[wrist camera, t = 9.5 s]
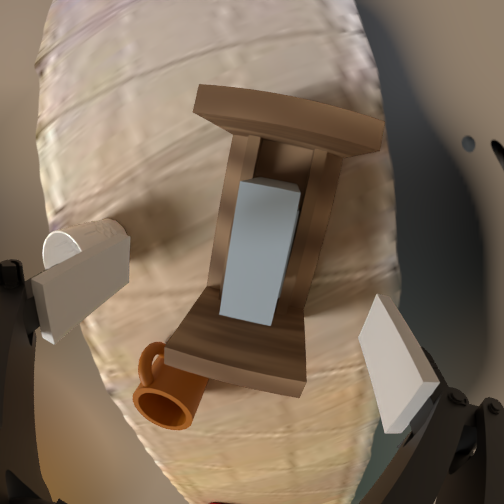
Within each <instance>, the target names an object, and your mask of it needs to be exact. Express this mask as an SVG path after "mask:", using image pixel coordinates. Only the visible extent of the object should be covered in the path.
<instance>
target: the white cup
mask: <svg viewBox="0 0 504 504" xmlns="http://www.w3.org/2000/svg"><path fill="white" fill-rule="evenodd" d="M117 234H123V235H127V234H126V232H125V230H124V228H123V227H122V226H121V225H120V224H119V223H118V222H117V221H115V220H112V219H108V218H106V219H103V220H99V221H91V222H86V223H83V224H78V225H74V226H71V227H67V228H63V229H60V230H56V231H53V232H51V233H50V234H49V235H48V236H47V238H46V240H45V242H44V246H43V262H44V266H45V270H46V269H49V268H50V267H52V266H54V265H56V264H58V263H61V262H63V261H65V260H66V259H68V258H70V257H72V256H74V255H76V254H78V253H80V252H82V251H84V250H86V249H88V248H90V247H92V246H94V245H96V244H98V243H100V242H102V241H104V240H106V239H109V238H111V237H113V236H115V235H117Z"/></svg>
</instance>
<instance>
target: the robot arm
mask: <svg viewBox="0 0 504 504" xmlns="http://www.w3.org/2000/svg"><path fill="white" fill-rule="evenodd" d="M130 237H131V236H127V235H123V234H117V235H115V236H113V237H111V238H109V239H106V240H104V241H102V242H100V243H98V244H96V245H94V246H92V247H90V248H88V249H86V250H84V251H82V252H80V253H78V254H76V255H74V256H72V257H70V258H68V259H66V260H65V261H63V262H61V263H58V264H56V265H54V266H52V267H50V268H49V269H46V270H45V271H43V272H41V273H39V274H37V275H36V276H34V277H32V278H30V279H29V280H27V281H24V274H23V267H22V263H21V261H19V260H13V259H10V260H5V261H2V262H0V504H67V503H65V502H64V501H62V500H60V499H58V501H57V503H55V502H52V499H51V496H50V493H49V490H48V488H47V486H46V484H45V482H44V480H43V478H42V475H41V471H40V466H39V458H38V451H37V443H36V433H35V419H34V361H35V347H36V333H35V330H36V329H37V328H38V327H39V326H40V329H41V333H42V337H43V338H44V339H46V340H47V341H49V342H51V343H52V344H54V345H55V344H56V343H57V342H58V341H60V340H61V339H62V338H63V337H64V336H65V335H66V334H67V333H69V332H70V331H71V330H72V329H73V328H74V327H76V326H77V325H78V324H79V323H80V322H81V321H83V320H84V319H85V318H86V317H87V316H89V315H90V314H91V313H92V312H93V311H94V310H96V309H97V308H98V307H99V306H100V305H102V304H103V303H104V302H105V301H107V300H108V299H109V298H110V297H111V296H113V295H114V294H115V293H116V292H118V291H119V290H120V289H121V288H123V287H124V286H125V285H126V284H128V283H129V260H130ZM358 339H359V342H360V345H361V348H362V351H363V355H364V358H365V361H366V365H367V368H368V371H369V375H370V378H371V382H372V385H373V389H374V393H375V396H376V400H377V404H378V408H379V411H380V415H381V419H382V423H383V428H384V432H385V433H402V432H403V430H404V429H405V428H406V426H408V424H409V423H410V426H411V429H412V431H411V432H410V433H409V434H408V435H407V437H406V438H405V439H404V440H403V441H402V442H401V443H400V444H399V445H398V446H397V448H399V450H398V451H397V453H396V455H395V456H394V457H393V459H392V460H391V462H390V463H389V465H388V466H387V468H386V469H385V471H384V472H383V473H382V475H381V476H380V477H379V479H378V480H377V481H376V483H375V484H374V485H373V487H372V488H371V489H370V490H369V492H368V493H367V494H366V495H365V497H364V498H363V499H362V500H361V501H360V503H359V504H433V503H434V501H435V499H436V497H437V499H436V503H435V504H504V408H503V406H502V405H501V403H500V402H498V400H496V399H494V398H490V397H488V398H485V399H484V401H483V402H482V403H481V404H480V406H475V405H471V404H469V401H468V399H467V397H466V396H465V394H464V393H462V392H461V391H460V390H458V389H456V388H451V387H448V385H447V383H446V381H445V380H444V377H443V376H442V374H441V372H440V370H439V369H438V367H437V365H436V363H434V360H433V358H432V356H431V355H430V354H429V353H428V352H427V351H426V350H425V349H424V348H423V347H420V345H419V344H418V342H417V340H416V338H415V337H414V335H413V334H412V332H411V330H410V329H409V327H408V325H407V324H406V322H405V320H404V319H403V317H402V315H401V314H400V312H399V311H398V309H397V307H396V306H395V304H394V303H393V301H392V300H391V298H390V297H389V296H386V295H381V294H376V296H375V299H374V301H373V304H372V306H371V309H370V311H369V314H368V316H367V319H366V321H365V323H364V326H363V328H362V330H361V332H360V335H359V337H358ZM475 449H476V451H475V453H474V454H473V450H475Z"/></svg>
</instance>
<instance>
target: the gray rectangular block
mask: <svg viewBox="0 0 504 504" xmlns="http://www.w3.org/2000/svg"><path fill="white" fill-rule="evenodd" d="M300 194H301V192H300V190H299V188H298V185H297V184H295V183H290V182H285V181H280V180H275V179H269V178H264V177H257V178H252V179H248V180H243V181H240V185H239V191H238V197H237V203H236V209H235V215H234V221H233V227H232V233H231V240H230V246H229V253H228V259H227V266H226V272H225V279H224V285H223V292H222V299H221V306H220V313H219V315H223V316H228V317H232V318H236V319H241V320H245V321H250V322H254V323H259V324H263V325H268V326H271V323H272V319H273V315H274V311H275V307H276V303H277V299H278V298H280V294H281V290H282V286H283V282H284V277H285V273H286V269H287V264H288V260H289V256H290V251H291V247H292V242H293V238H294V233H295V228H296V224H297V219H298V214H299V209H298V204H299V199H300Z"/></svg>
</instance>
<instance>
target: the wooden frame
mask: <svg viewBox="0 0 504 504" xmlns="http://www.w3.org/2000/svg"><path fill="white" fill-rule="evenodd" d="M193 113H195V114H197V115H199V116H201V117H203V118H204V119H206V120H208V121H210V122H212V123H214V124H215V125H217V126H219V127H221V128H222V129H224V130H226V131H228V132H230V133H231V134H233V138H232V143H231V148H230V153H229V158H228V163H227V169H226V174H225V179H224V185H223V190H222V196H221V201H220V207H219V213H218V219H217V225H216V231H215V237H214V243H213V249H212V255H211V262H210V268H209V275H208V282H207V287H206V288H205V290H204V291H203V292H202V294H201V295H200V297H199V298H198V300H197V301H196V302H195V304H194V305H193V307H192V308H191V309H190V311H189V312H188V314H187V315H186V317H185V318H184V319H183V321H182V322H181V324H180V325H179V327H178V328H177V330H176V331H175V332H174V334H173V335H172V337H171V338H170V340H169V341H168V342H167V344H166V345H165V347H164V364H166V365H169V366H172V367H175V368H178V369H181V370H184V371H187V372H190V373H194V374H197V375H200V376H204V377H207V378H211V379H215V380H218V381H222V382H226V383H230V384H234V385H238V386H242V387H246V388H251V389H255V390H260V391H264V392H269V393H274V394H280V395H285V396H291V397H296V398H300V396H301V393H302V391H303V389H304V387H305V385H306V382H307V380H306V350H305V328H304V310H303V309H304V306H305V303H306V299H307V296H308V293H309V289H310V286H311V283H312V279H313V276H314V273H315V269H316V266H317V262H318V258H319V255H320V251H321V248H322V244H323V240H324V236H325V233H326V229H327V225H328V221H329V217H330V213H331V209H332V205H333V201H334V196H335V192H336V188H337V184H338V179H339V175H340V170H341V166H342V161H343V158H347V157H351V156H356V155H361V154H366V153H371V152H377V151H380V147H381V142H382V136H383V130H384V124H385V122H384V121H382V120H379V119H376V118H373V117H370V116H366V115H363V114H360V113H357V112H353V111H350V110H346V109H343V108H339V107H336V106H332V105H328V104H324V103H320V102H316V101H311V100H307V99H302V98H297V97H293V96H287V95H282V94H277V93H271V92H265V91H258V90H251V89H244V88H235V87H226V86H216V85H203V84H199V87H198V91H197V96H196V100H195V104H194V109H193ZM257 177H264V178H269V179H275V180H280V181H285V182H290V183H295V184H297V185H298V188H299V190H300V192H301V194H300V199H299V204H298V209H299V214H298V219H297V224H296V228H295V233H294V238H293V242H292V247H291V251H290V256H289V260H288V264H287V269H286V273H285V277H284V282H283V286H282V290H281V294H280V298H278V299H277V303H276V307H275V311H274V315H273V319H272V323H271V326H268V325H263V324H259V323H254V322H250V321H245V320H241V319H236V318H232V317H228V316H223V315H219V313H220V306H221V299H222V292H223V285H224V279H225V272H226V266H227V259H228V253H229V246H230V240H231V233H232V227H233V221H234V215H235V209H236V203H237V197H238V191H239V185H240V181H243V180H248V179H252V178H257Z"/></svg>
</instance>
